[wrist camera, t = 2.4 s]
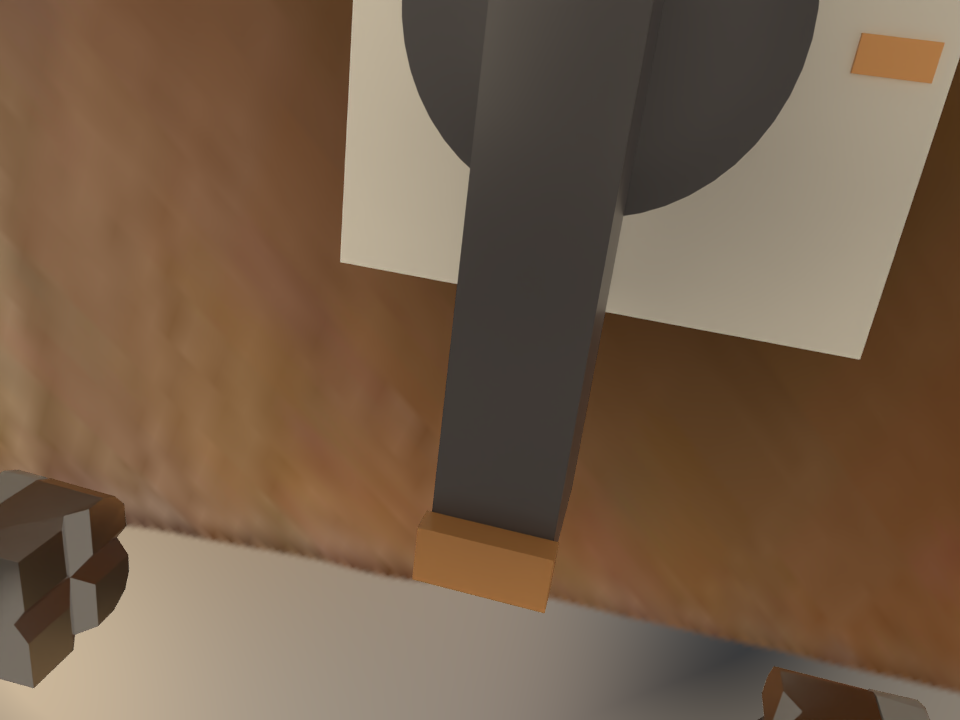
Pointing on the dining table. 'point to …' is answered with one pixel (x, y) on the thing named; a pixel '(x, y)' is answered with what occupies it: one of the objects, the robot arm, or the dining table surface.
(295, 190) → the dining table surface
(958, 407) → the dining table surface
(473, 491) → the twist knob
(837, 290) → the base
